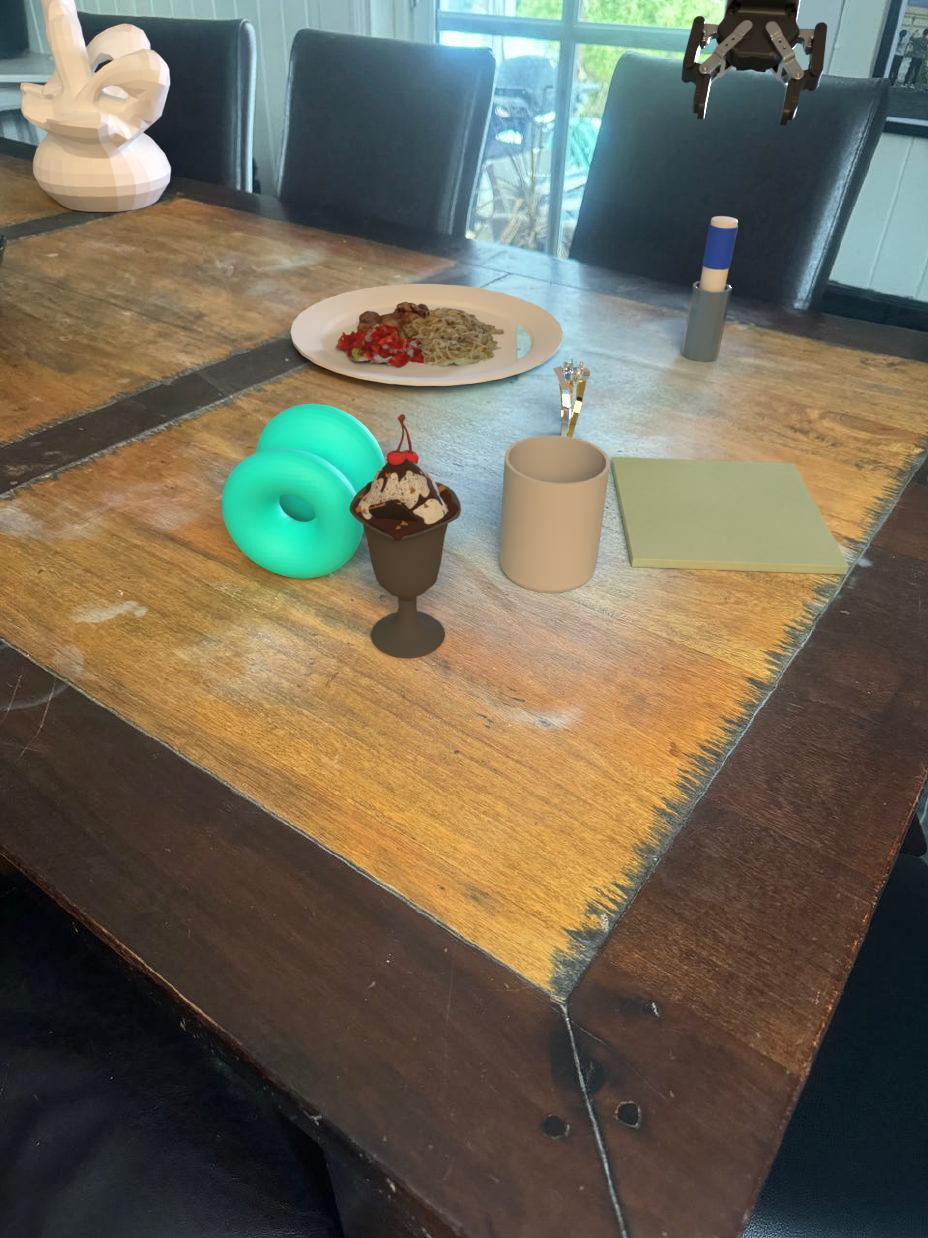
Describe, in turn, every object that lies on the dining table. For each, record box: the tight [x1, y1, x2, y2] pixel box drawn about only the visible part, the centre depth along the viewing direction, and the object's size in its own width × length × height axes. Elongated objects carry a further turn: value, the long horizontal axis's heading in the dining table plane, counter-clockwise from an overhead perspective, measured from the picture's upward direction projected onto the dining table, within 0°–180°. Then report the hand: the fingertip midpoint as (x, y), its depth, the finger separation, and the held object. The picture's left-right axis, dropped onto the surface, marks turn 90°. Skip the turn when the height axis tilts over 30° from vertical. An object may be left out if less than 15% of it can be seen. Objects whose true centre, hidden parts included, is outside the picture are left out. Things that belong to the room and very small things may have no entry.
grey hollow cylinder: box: [680, 280, 733, 363], centre depth 98 cm, size 4×4×8 cm
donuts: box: [221, 403, 386, 580], centre depth 66 cm, size 10×10×10 cm
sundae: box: [349, 413, 462, 659], centre depth 56 cm, size 7×7×15 cm
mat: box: [610, 456, 850, 575], centre depth 74 cm, size 16×16×1 cm
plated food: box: [289, 283, 564, 387], centre depth 101 cm, size 30×30×3 cm
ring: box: [552, 358, 591, 438], centre depth 81 cm, size 7×3×8 cm, turn 172°
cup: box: [498, 434, 611, 594], centre depth 66 cm, size 7×10×9 cm
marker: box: [699, 215, 739, 292], centre depth 95 cm, size 3×3×14 cm
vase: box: [19, 0, 172, 213], centre depth 138 cm, size 29×22×35 cm
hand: (742, 117), depth 96 cm, fingers open, 8 cm apart
